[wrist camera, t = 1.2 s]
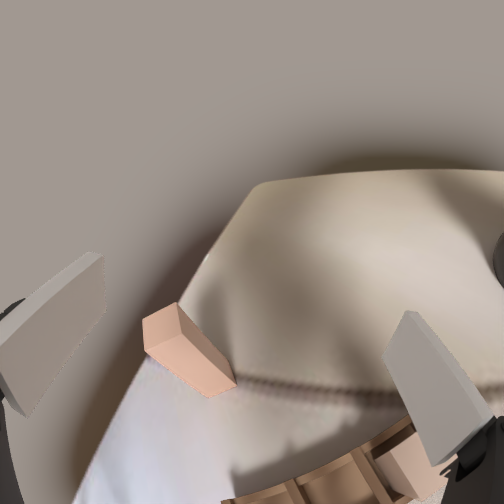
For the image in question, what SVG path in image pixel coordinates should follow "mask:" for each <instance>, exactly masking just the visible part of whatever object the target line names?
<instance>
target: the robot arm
mask: <svg viewBox="0 0 504 504" xmlns="http://www.w3.org/2000/svg"><path fill="white" fill-rule="evenodd" d="M493 264H494V269H495V272H496V275H497V277H498V279H499V281H500V283H501V284H502V286H503V287H504V233H503V234H502V235H501V236H500V238H499V239H498V242H497V245H496V248H495V251H494V255H493ZM106 311H107V309H106V297H105V282H104V255H102V254H98V253H94V252H90V251H89V252H87V253H86V254H84V255H83V256H81V257H80V258H79V259H77V260H76V261H74V262H73V263H72V264H70V265H69V266H68V267H66V268H65V269H63V270H62V271H61V272H59V273H58V274H57V275H55V276H54V277H53V278H52V279H50V280H49V281H48V282H46V283H45V284H44V285H42V286H41V287H40V288H39V289H38V290H36V291H35V292H34V293H32V294H31V295H30V296H29V297H28V298H26V299H25V298H24V299H22V300H19V301H17V302H15V303H13V304H12V305H10V306H9V307H8V308H7V309H6V310H4V313H1V314H0V504H24V501H23V498H22V495H21V492H20V489H19V486H18V482H17V479H16V475H15V471H14V467H13V462H12V459H11V453H10V448H9V442H8V436H7V430H6V422H5V413H4V407H3V404H2V402H1V401H2V400H3V398H4V397H5V398H6V399H7V401H8V402H9V404H10V406H11V407H12V408H13V409H14V410H16V411H17V412H19V413H20V414H22V415H23V416H25V417H26V418H29V416H30V415H31V413H32V412H33V410H34V409H35V407H36V405H37V404H38V402H39V401H40V399H41V398H42V396H43V395H44V393H45V392H46V390H47V389H48V387H49V386H50V385H51V383H52V382H53V380H54V379H55V377H56V376H57V375H58V373H59V372H60V370H61V369H62V368H63V366H64V365H65V364H66V362H67V361H68V359H69V358H70V357H71V355H72V354H73V353H74V351H75V350H76V349H77V347H78V346H79V345H80V343H81V342H82V341H83V340H84V338H85V337H86V336H87V335H88V333H89V332H90V331H91V329H92V328H93V327H94V326H95V324H96V323H97V322H98V321H99V319H100V318H101V317H102V316H103V315H104V313H105V312H106ZM381 358H382V360H383V361H384V363H385V365H386V367H387V369H388V371H389V373H390V375H391V377H392V379H393V381H394V383H395V385H396V387H397V389H398V391H399V394H400V396H401V398H402V400H403V402H404V404H405V406H406V408H407V411H408V413H409V415H410V417H411V419H412V421H413V424H414V426H415V428H416V430H417V433H418V435H419V437H420V440H421V442H422V444H423V447H424V449H425V452H426V454H427V457H428V459H429V462H430V464H431V467H434V466H437V465H440V464H443V463H445V462H446V461H448V460H449V459H450V458H451V457H452V456H453V455H455V454H457V456H458V458H457V459H455V460H454V461H453V462H452V463H451V464H449V465H448V466H447V467H446V468H444V469H443V470H442V471H441V472H440V474H439V475H440V476H441V475H443V474H444V473H445V472H447V471H448V470H450V471H449V472H448V473H447V474H446V475H445V476H444V477H446V478H448V482H447V485H446V489H445V492H444V495H443V499H442V502H441V504H504V416H500V417H498V419H497V418H496V417H495V416H494V414H493V413H492V411H491V409H490V408H489V406H488V405H487V403H486V402H485V400H484V399H483V397H482V396H481V394H480V393H479V391H478V390H477V388H476V387H475V385H474V384H473V382H472V381H471V380H470V378H469V377H468V375H467V374H466V373H465V371H464V370H463V369H462V367H461V366H460V364H459V363H458V362H457V360H456V359H455V358H454V356H453V355H452V354H451V353H450V351H449V350H448V349H447V347H446V346H445V345H444V344H443V342H442V341H441V340H440V338H439V337H438V336H437V335H436V334H435V332H434V331H433V330H432V329H431V327H430V326H429V325H428V324H427V323H426V321H425V320H424V319H423V318H422V317H421V315H420V314H419V313H418V312H414V311H405V313H404V315H403V317H402V319H401V321H400V323H399V325H398V327H397V329H396V331H395V333H394V335H393V337H392V339H391V341H390V342H389V344H388V346H387V348H386V350H385V351H384V353H383V355H382V357H381Z"/></svg>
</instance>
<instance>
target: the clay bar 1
mask: <svg viewBox="0 0 504 504" xmlns="http://www.w3.org/2000/svg"><path fill="white" fill-rule="evenodd" d="M143 337H144V349H145V352H147V353H148V354H149V355H150V356H151V357H153V358H154V359H155V360H156V361H158V362H159V363H160V364H162V365H163V366H164V367H165V368H167V369H168V370H169V371H171V372H172V373H173V374H175V375H176V376H177V377H179V378H180V379H181V380H183V381H184V382H185V383H187V384H188V385H190V386H191V387H192V388H194V389H195V390H197V391H198V392H200V393H201V394H203V395H204V396H206V397H207V398H210V397H212V396H215V395H217V394H220V393H222V392H224V391H227V390H229V389H231V388H234V387H236V386H237V384H236V381H235V378H234V376H233V373H232V370H231V367H230V365H229V362H228V360H227V359H226V358H225V357H224V356H223V355H222V354H221V352H220V351H219V350H218V349H217V348H216V347H215V346H214V345H213V344H212V343H211V342H210V341H209V339H208V338H207V337H206V336H205V335H204V334H203V333H202V332H201V331H200V329H199V328H198V327H197V326H196V325H195V324H194V323H193V321H192V320H191V319H190V318H189V317H188V316H187V315H186V313H185V312H184V311H183V310H182V309H181V307H180V306H179V305H178V304H177V303H176V302H175V303H173V304H171V305H169V306H168V307H165V308H163V309H162V310H160V311H158V312H156V313H154V314H152V315H150V316H148V317H146V318H144V319H143Z"/></svg>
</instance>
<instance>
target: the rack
mask: <svg viewBox="0 0 504 504" xmlns="http://www.w3.org/2000/svg"><path fill="white" fill-rule="evenodd" d="M416 431H417V430H416V428H415V426H414V424H413V421H412V419H411V417H410V415H409V414H408V415H407V416H405V417H404V418H403V419H401V420H400V421H398V422H397V423H396V424H394V425H393V426H391V427H390V428H388V429H387V430H385V431H384V432H382V433H381V434H379V435H378V436H376V437H375V438H373V439H371V440H370V441H368V442H366V443H365V444H363V445H361V446H360V447H359V446H358V447H357V448H355V449H353V450H351V451H350V452H349V453H347V454H345V455H344V456H342V457H340V458H338V459H336V460H334V461H332V462H330V463H328V464H326V465H324V466H322V467H320V468H318V469H315V470H313V471H311V472H309V473H306V474H304V475H302V476H299V477H297V478H293V479H290V480H288V481H285V482H283V483H282V484H279V485H276V486H273V487H270V488H267V489H264V490H261V491H258V492H255V493H252V494H248V495H245V496H241V497H238V498H234V499H227V500H223V501H221V504H407V503H408V502H410V501H411V500H413V498H410V497H408V496H405V495H403V494H401V493H398V492H396V491H394V490H392V489H391V488H390V486H389V484H388V483H387V481H386V479H385V478H384V476H383V475H382V473H381V471H380V470H379V468H378V466H377V465H376V463H375V462H374V460H375V459H377V458H378V457H380V456H382V455H383V454H385V453H386V452H388V451H389V450H391V449H392V448H394V447H395V446H397V445H398V444H400V443H401V442H403V441H404V440H405V439H407V438H408V437H409V436H411V435H412V434H414V433H415V432H416Z"/></svg>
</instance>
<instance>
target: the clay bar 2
mask: <svg viewBox="0 0 504 504" xmlns="http://www.w3.org/2000/svg"><path fill="white" fill-rule="evenodd" d="M457 458H458V456H457V454H455V455H453V456H452V457H451V458H450V459H449V460H448V461H446V462H445V463H443V464H440V465H437V466H434V467H431V464H430V462H429V459H428V457H427V454H426V452H425V449H424V447H423V444H422V442H421V440H420V437H419V435H418V433H417V431H416V432H415V433H414V434H412V435H411V436H409V437H408V438H407V439H405V440H404V441H403V442H401V443H400V444H398V445H397V446H395V447H394V448H392V449H391V450H389V451H388V452H386V453H385V454H383V455H382V456H380V457H378V458H377V459H375V460H374V462H375V463H376V465H377V466H378V468H379V470H380V471H381V473H382V475H383V476H384V478H385V479H386V481H387V483H388V484H389V486H390V488H391V489H392V490H394V491H396V492H398V493H401V494H403V495H405V496H408V497H410V498H413V499H416V500H418V501H421V502H422V501H424V500H425V499H427V498H428V497H429V496H431V495H432V494H433V493H435V492H436V491H437V490H439V489H440V488H441V487H443V486H444V485H445V484H446V483H447V482H448V478H446V477H444V476H445V475H446V474H447V473H448V472H449V471H450V470H448V471H447V472H445V473H444V474H443V475H441V476H440V475H439V474H440V472H441V471H442V470H443V469H444V468H446V467H447V466H448V465H449V464H451V463H452V462H453V461H454V460H455V459H457Z"/></svg>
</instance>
